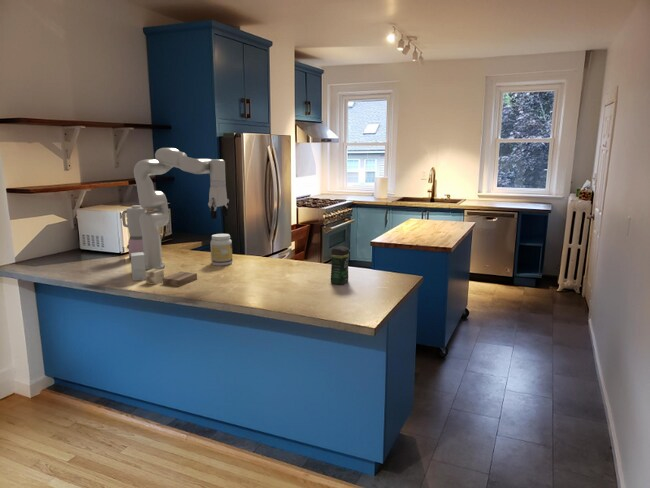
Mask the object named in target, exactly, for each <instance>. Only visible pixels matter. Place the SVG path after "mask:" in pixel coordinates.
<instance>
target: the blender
mask: <svg viewBox="0 0 650 488" xmlns="http://www.w3.org/2000/svg"><path fill="white" fill-rule="evenodd" d="M145 212H148V211H147V209H143V208H142V207H141V206H140V204H139V205H137V204H136V205H135V204H134V205H131V207H127V208H126V210H123V211H122V213H121V220H122V226H123V227H125V228H128V233H129V239H128V241H127V242H128V244H127V246H126V247H127V249H128V257H129V258H128V259H129V260H131V253H138V252H143V241H142V231H141V227H140V223H139V218H140V216H141V215H142V214H143V213H145ZM126 222H127V223H126Z"/></svg>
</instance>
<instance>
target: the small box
mask: <svg viewBox="0 0 650 488" xmlns="http://www.w3.org/2000/svg"><path fill="white" fill-rule="evenodd" d="M130 265H131V267H130V268H131V277H132V281H133V282H137V281H144V280H145V281H146V271H147V270H146V267H145V255H144V253H143V252H138V253H131V259H130Z"/></svg>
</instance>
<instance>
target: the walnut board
mask: <svg viewBox="0 0 650 488" xmlns="http://www.w3.org/2000/svg"><path fill="white" fill-rule="evenodd" d="M196 280H198V274H197V273H196V272H188V271H178V272H175V273H173V274H170V275H168V276H164V278H163V282H162V285H167V286H174V287H181V286H183V285H186V284H188V283H191V282H193V281H196Z"/></svg>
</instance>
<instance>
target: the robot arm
mask: <svg viewBox="0 0 650 488" xmlns="http://www.w3.org/2000/svg"><path fill="white" fill-rule="evenodd" d="M172 168H176V169H180V170H181V171H183V172H186V173H191V174H193V175H204V174H205V175H207V174H209V176H210V177H209V179H210V180H209V181H210V182H209V183H210V187H209V193H208V194H209V195H208V196H209V197H208V198H209V199H208V203H207V205H208V208H209V211H210V218H211V219H212V220H213V219H215V220H216V219H217V218H218V217H217V216H218V212H217V209H218V208H219V207H221V216H222V217H228V215H229V214H228V209H229V202H230V199H229V198H228V194H227V185H226V184H227V183H226V182H227V181H226V161H225V160H224V159H222V158H221V159H219V158H218V159H217V158H215V159H212V158H193V157H188V155H187V153H185V152H183V151H180V150H179V149H177V148H175V147H161V148H159V149H157V150H156V151H155V153H154V158H153V159H152V158H146V159H142V160H138V161H137V162H136V164H134V168H133V176H134V180H135V183H136V189H137V196H138V203H139V205H140V206H141V207H142V208H143V209H146V210H151V211H147V212H145V213H143V214H142V215H141V216H140V218H139V223H140V227H141V231H142V241H143V253H144V255H145V267H146V271H148V270H151V269H161V270H162V269H164V268H165V267H166V264H165V263H163V258H162V256H163V255H162V254H163V253H162V239H161V234H160V231H159V230H158V228H162V227H165V226H166V225H168V224H169V222H170V212H169V205H168V199H167V197H166V194H165V193H164V192H163V191H161V190H155V186H154V183H153V180H152V179H151V177H150V176H157V175H158V176H159V175H163V174H166V173H167V172H169V171H170V170H171V169H172ZM152 209H153V210H152Z"/></svg>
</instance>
